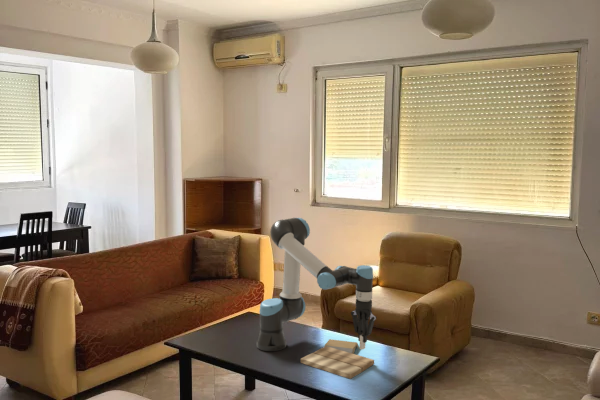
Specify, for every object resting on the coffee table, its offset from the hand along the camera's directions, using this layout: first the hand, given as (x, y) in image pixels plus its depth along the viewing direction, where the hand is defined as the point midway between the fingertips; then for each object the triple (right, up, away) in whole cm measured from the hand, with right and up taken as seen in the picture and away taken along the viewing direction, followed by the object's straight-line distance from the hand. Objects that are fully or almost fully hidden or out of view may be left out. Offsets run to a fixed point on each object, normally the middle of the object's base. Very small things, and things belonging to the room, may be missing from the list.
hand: (362, 348), depth 246 cm
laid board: (-15, -7, -5) cm, 18 cm away
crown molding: (-9, -6, +18) cm, 21 cm away
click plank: (-9, -6, +3) cm, 11 cm away
